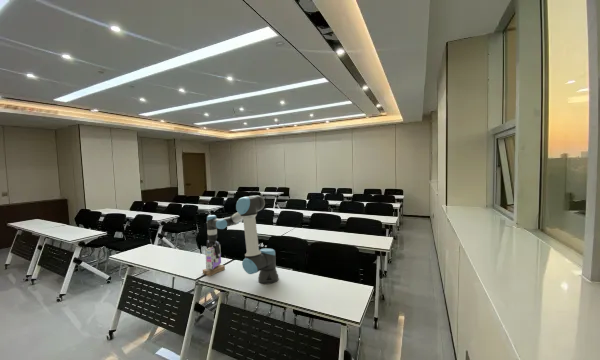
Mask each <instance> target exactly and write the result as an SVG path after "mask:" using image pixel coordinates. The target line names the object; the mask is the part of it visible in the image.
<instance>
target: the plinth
mask: <svg viewBox="0 0 600 360" xmlns="http://www.w3.org/2000/svg"><path fill="white" fill-rule="evenodd" d="M224 270H226V266H225V265H224V264H219V265H218V266H217V267H215V268H214V269H206V268H204V269H202V274H203V273H204V274H203V275H206V276H208V277H211V276H213V275H215V274H217V273H220V272H222V271H224Z"/></svg>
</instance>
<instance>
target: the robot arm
mask: <svg viewBox="0 0 600 360" xmlns="http://www.w3.org/2000/svg"><path fill="white" fill-rule="evenodd" d="M265 205H266V201H265V199H264V198H263V196H261V195H258V194H257V195H249V196H243V197H240V198H238V200H237V201H236V204H235V210H236V211H237V212H235V213H233V214H232V215H230V216H226V217H224V218H223V217H222V218H218V217H217V215H215V214H211V215H207V216H206V228H207V231H206V232H207V233H206V234H207V240H206V241H205V242H206V249H207V248H209V247H211V246H213V247H214V248H215V263H217V262H218V258H219V257H218V254H220V251H221V247H220V248H219V245H220V242H219V241H217V239H218V229H219V230H224V229H225V228H226V227H228V228H229V227H232V226H236V225H238V224H239V223H240V222H241V221H243V229H244V239H245V249H246V253H244V259H243V260H242V261H241V262H242V264H241V265H242V269H243V270H244V272H245V273H247V274H248V275H253V274H257V273H258V272H259V273H258V277H257V279H258V282H259V283H260V284H266V285H269V284H273V283H276V282H278V281H279V273H278V271H277V268H276V266H277V265H276V263H277V261H276V250H275V249H273V248H261V249H260V247H259V239H258V228H257V221H256V217H257V215H258V212H260V211H262V210H263V209H264V207H265ZM214 245H215V246H214Z"/></svg>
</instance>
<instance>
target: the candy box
mask: <svg viewBox="0 0 600 360" xmlns="http://www.w3.org/2000/svg"><path fill="white" fill-rule="evenodd" d="M214 246H215V245H214ZM219 248H220V249H221V244H219ZM221 256H222V252H221V250H220V254H218V257H219V258H218V262H217V263H215V248H214V247H213V246H211V247H209V248H207V247H206V249H205V269H214V268H215V267H217V266H218V265H219V264H220V265H222V257H221Z"/></svg>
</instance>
